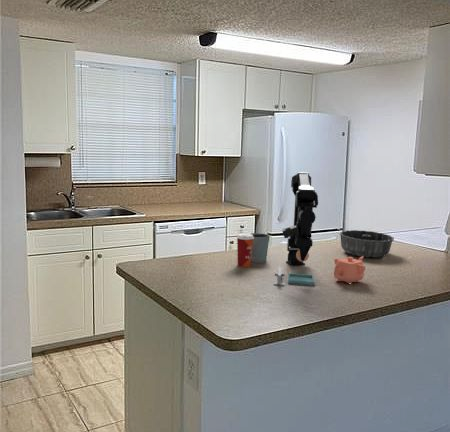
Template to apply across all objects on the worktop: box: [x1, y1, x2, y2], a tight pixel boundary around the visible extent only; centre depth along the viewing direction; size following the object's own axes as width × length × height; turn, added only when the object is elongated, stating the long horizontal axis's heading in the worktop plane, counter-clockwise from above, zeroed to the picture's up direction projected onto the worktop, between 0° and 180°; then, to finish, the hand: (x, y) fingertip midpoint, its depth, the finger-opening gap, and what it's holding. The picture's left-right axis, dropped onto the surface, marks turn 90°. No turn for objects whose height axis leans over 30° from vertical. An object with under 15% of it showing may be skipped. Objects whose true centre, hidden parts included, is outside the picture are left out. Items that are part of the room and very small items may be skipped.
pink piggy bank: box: [333, 256, 366, 284], centre depth 193 cm, size 14×12×10 cm
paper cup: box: [236, 233, 254, 268], centre depth 211 cm, size 8×8×14 cm
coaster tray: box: [287, 272, 316, 286], centre depth 192 cm, size 10×10×2 cm
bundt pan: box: [339, 229, 395, 258], centre depth 242 cm, size 26×26×10 cm
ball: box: [296, 250, 310, 263], centre depth 190 cm, size 5×5×5 cm
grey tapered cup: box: [250, 232, 271, 264], centre depth 222 cm, size 10×10×12 cm
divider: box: [273, 264, 286, 287], centre depth 192 cm, size 16×4×4 cm, turn 172°
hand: (302, 258), depth 191 cm, fingers closed on ball, 5 cm apart
